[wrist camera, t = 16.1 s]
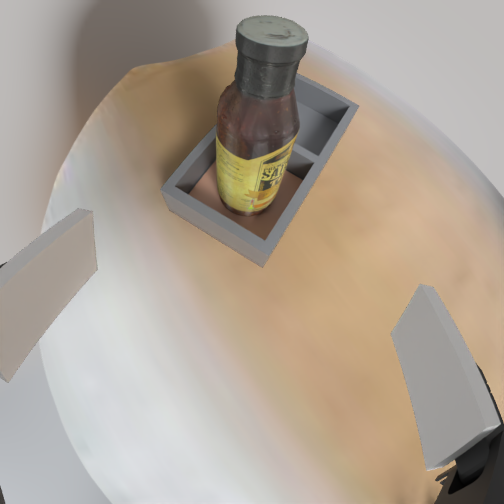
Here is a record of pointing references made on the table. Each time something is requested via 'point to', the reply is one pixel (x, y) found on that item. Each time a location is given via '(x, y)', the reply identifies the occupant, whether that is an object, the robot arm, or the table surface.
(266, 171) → the sauce bottle
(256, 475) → the table surface
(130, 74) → the table surface
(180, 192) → the slot caddy
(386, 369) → the table surface
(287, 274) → the table surface
